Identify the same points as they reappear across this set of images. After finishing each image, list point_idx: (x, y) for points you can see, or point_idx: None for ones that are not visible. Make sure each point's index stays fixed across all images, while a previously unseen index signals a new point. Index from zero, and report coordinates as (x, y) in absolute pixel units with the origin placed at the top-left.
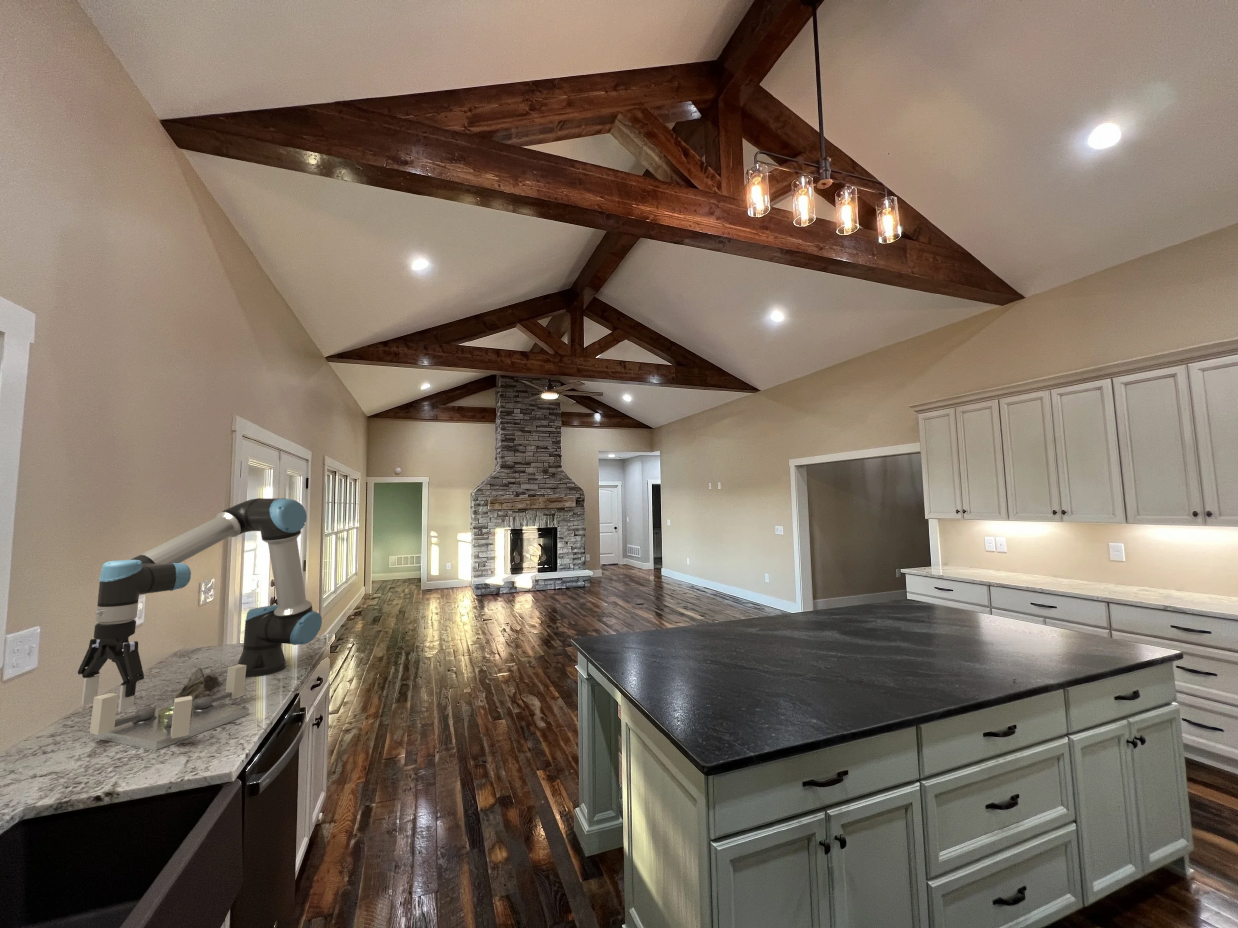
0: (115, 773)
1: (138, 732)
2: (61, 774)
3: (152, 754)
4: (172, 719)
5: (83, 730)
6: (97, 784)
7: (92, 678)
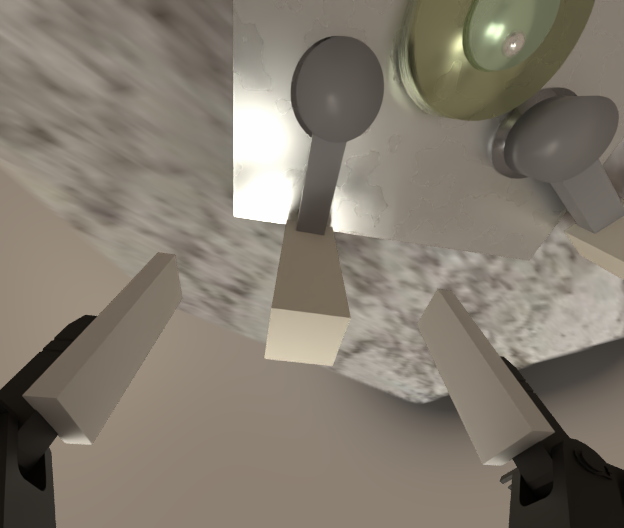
0: (488, 331)
1: (421, 214)
2: (386, 345)
3: (516, 265)
4: (620, 263)
5: (136, 161)
6: None
7: (86, 412)
